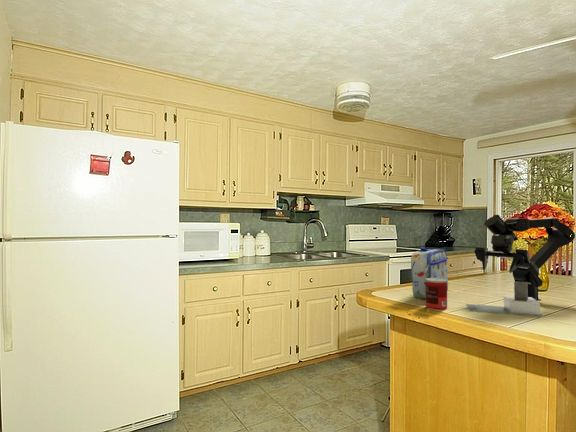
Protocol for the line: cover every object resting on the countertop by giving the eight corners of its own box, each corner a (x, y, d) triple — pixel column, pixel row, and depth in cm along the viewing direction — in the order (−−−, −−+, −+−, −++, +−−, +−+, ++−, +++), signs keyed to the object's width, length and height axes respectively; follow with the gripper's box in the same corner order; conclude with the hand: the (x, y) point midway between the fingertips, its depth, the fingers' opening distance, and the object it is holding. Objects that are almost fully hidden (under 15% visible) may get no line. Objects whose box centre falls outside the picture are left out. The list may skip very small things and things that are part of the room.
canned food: (446, 306, 134) (445, 278, 135) (448, 311, 127) (448, 281, 127) (425, 305, 137) (424, 277, 137) (426, 309, 129) (425, 280, 130)
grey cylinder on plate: (503, 307, 131) (503, 279, 131) (531, 309, 128) (531, 281, 128) (510, 313, 123) (509, 283, 123) (540, 315, 120) (539, 285, 120)
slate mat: (470, 312, 126) (470, 311, 126) (465, 304, 137) (465, 303, 137) (545, 318, 118) (545, 317, 118) (534, 309, 129) (534, 308, 129)
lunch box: (434, 303, 139) (433, 249, 139) (408, 300, 145) (407, 248, 146) (450, 293, 161) (450, 245, 161) (427, 290, 167) (427, 244, 167)
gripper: (475, 227, 146) (466, 255, 139) (528, 228, 133) (520, 259, 125) (482, 245, 152) (473, 273, 144) (533, 248, 138) (526, 278, 130)
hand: (496, 270), depth 136 cm, fingers open, 9 cm apart
